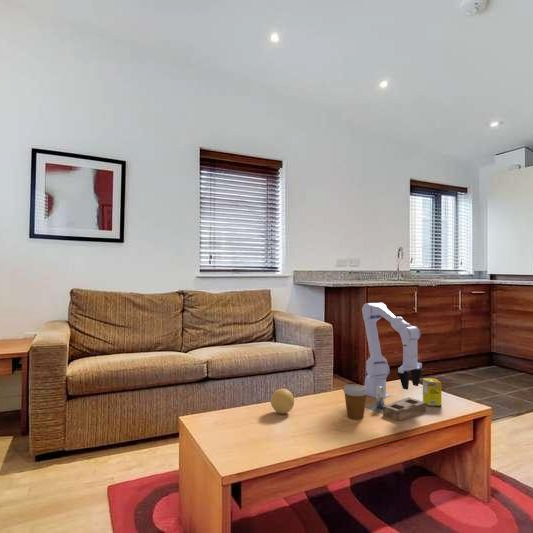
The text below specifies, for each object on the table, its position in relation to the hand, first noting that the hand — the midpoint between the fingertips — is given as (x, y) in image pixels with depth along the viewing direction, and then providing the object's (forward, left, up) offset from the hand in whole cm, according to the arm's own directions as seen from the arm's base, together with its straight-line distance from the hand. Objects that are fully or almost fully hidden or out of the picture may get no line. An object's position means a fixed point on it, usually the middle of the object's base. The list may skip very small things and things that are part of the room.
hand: (410, 387), depth 158 cm
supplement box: (+1, +14, -10) cm, 18 cm away
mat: (-9, -8, -10) cm, 16 cm away
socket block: (0, -5, -10) cm, 11 cm away
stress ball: (-31, -45, -10) cm, 55 cm away
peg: (-10, -8, -10) cm, 16 cm away
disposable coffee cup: (-10, -24, -10) cm, 28 cm away
